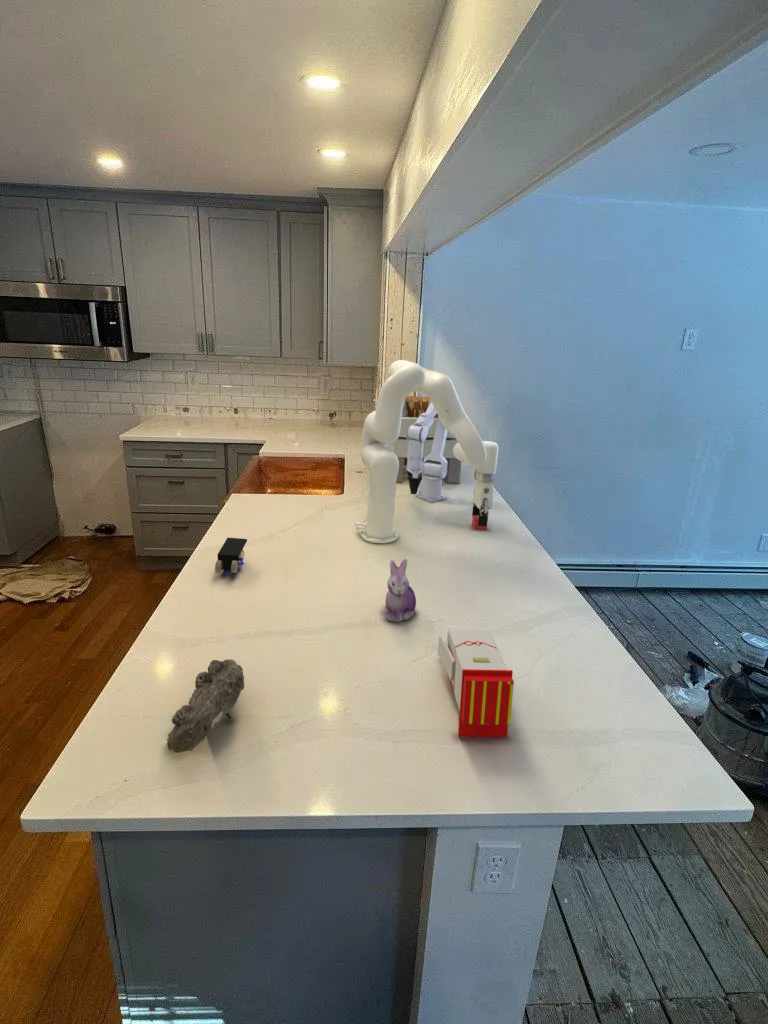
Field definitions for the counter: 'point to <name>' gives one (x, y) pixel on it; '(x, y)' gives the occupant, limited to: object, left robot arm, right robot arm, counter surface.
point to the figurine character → (230, 556)
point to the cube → (475, 523)
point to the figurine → (399, 594)
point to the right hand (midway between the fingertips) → (413, 490)
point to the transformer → (400, 447)
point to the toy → (478, 682)
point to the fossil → (206, 705)
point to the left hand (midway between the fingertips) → (479, 520)
